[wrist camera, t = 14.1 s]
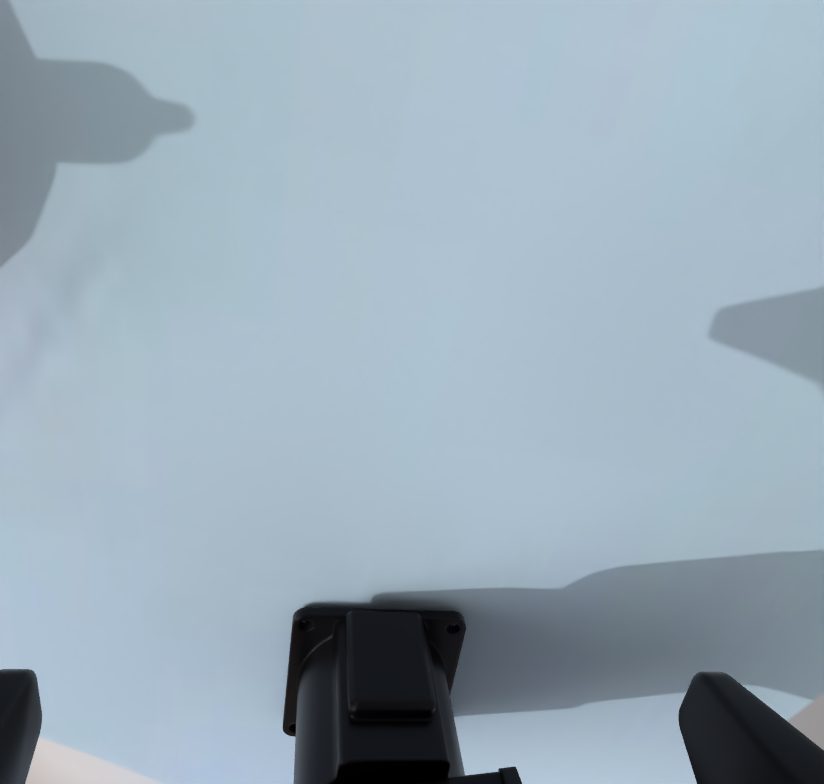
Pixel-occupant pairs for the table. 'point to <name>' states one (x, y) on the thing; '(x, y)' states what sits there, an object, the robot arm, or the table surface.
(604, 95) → the table surface
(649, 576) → the table surface
